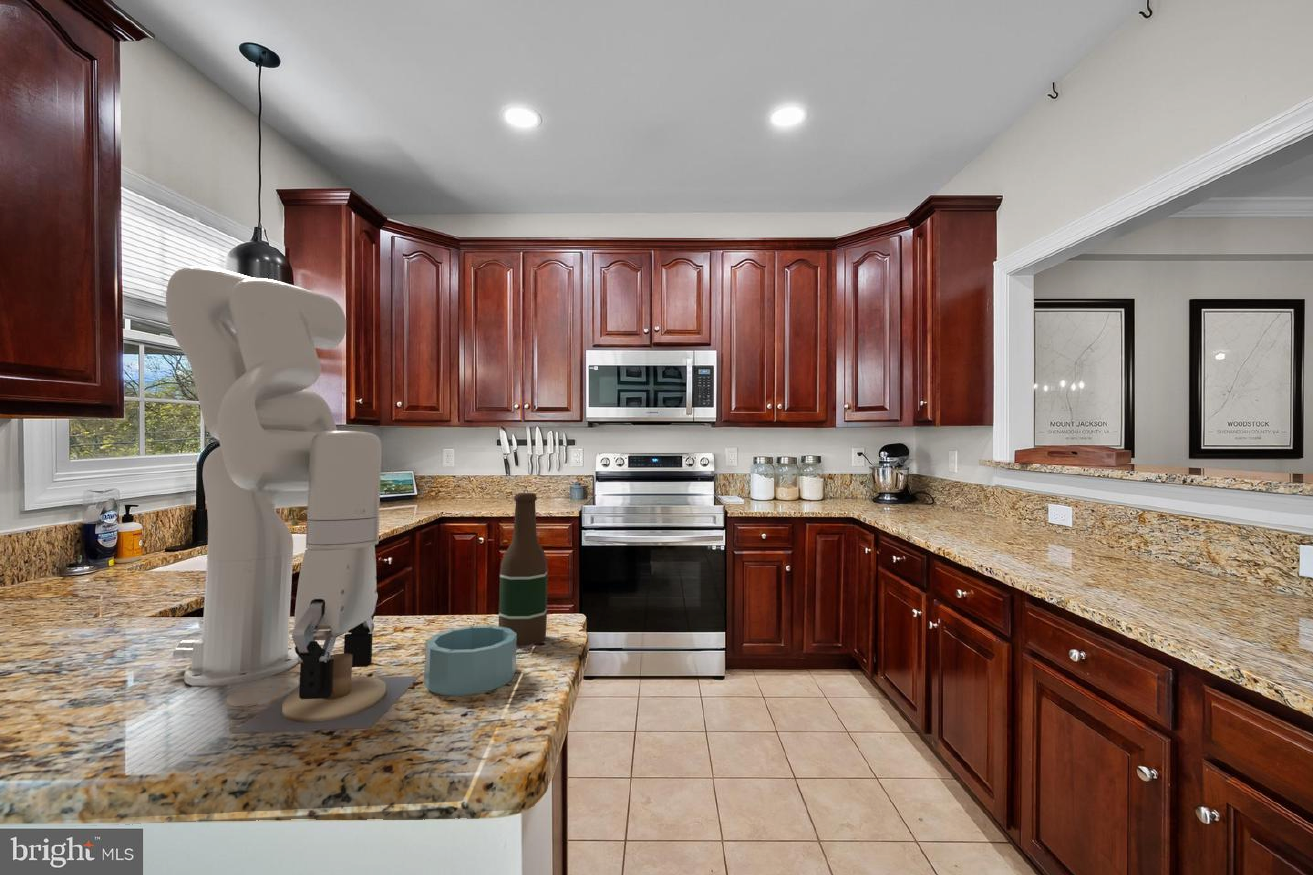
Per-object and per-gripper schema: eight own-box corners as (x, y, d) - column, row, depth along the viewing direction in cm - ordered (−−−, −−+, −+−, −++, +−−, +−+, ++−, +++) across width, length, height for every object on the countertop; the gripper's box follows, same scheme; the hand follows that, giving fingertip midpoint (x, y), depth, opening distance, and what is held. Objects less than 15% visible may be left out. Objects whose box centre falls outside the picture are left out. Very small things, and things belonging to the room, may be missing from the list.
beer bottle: (555, 636, 87) (558, 492, 89) (530, 651, 80) (533, 494, 81) (516, 631, 90) (519, 491, 91) (487, 645, 82) (491, 493, 84)
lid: (260, 724, 56) (262, 676, 56) (314, 684, 66) (315, 644, 66) (361, 720, 57) (363, 673, 57) (399, 681, 67) (400, 641, 67)
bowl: (411, 700, 63) (413, 653, 63) (441, 666, 74) (442, 626, 74) (505, 697, 64) (506, 651, 64) (520, 663, 75) (521, 624, 75)
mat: (229, 736, 54) (229, 732, 54) (308, 682, 68) (308, 679, 68) (370, 731, 55) (370, 727, 55) (419, 679, 69) (419, 675, 69)
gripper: (347, 526, 71) (342, 656, 70) (262, 543, 54) (254, 716, 53) (404, 525, 72) (400, 654, 70) (338, 542, 54) (332, 713, 53)
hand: (338, 680), depth 62 cm, fingers open, 8 cm apart
